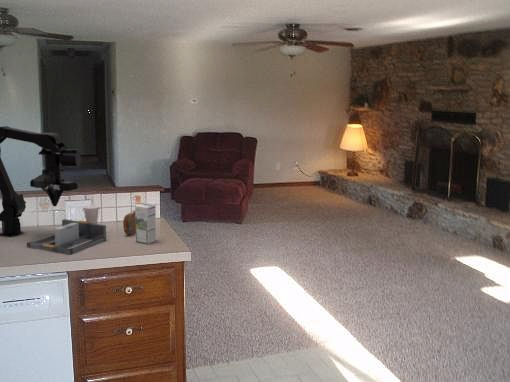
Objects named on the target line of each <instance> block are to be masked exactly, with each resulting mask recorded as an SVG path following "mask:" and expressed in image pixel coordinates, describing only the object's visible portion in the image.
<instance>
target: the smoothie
mask: <svg viewBox="0 0 510 382" xmlns="http://www.w3.org/2000/svg"><path fill="white" fill-rule="evenodd" d="M82 208H83V209H82V210H83V211H84V218H85V221H87V222H90V223H94V224H98V221H99V220H98V219H99V210H100V205H98V204H94V196H93V195H91V204H87V205H84V206H82Z"/></svg>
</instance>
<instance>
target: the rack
mask: <svg viewBox="0 0 510 382" xmlns="http://www.w3.org/2000/svg"><path fill="white" fill-rule="evenodd" d="M73 222H74V223H78V224H79V238H78V239H75V240H72V241H70V242H67V243H64V244H61V245H59V246H55V233H53V234H49V235H46V236H43V237H40V238H37V239H33V240H31V241H29V242H26V247H27V248H31V249H36V250H40V251H42V250H43V251H48V252H53V253H58V254H64V255H69V256H71V255H73V254H76V253H78V252H81V251H84V250H85V249H88V248H91V247H93V246H97V245H98V244H101V243H103V242H106V241H107V225H106V224H99V223H97V224H94V223H90V222H87V221H86V220H82V219H81V220H73V219H66V218H65V219H62V220H61V223H62V224H61V226H64V225H67V224H70V223H73ZM81 243H82V244H81Z"/></svg>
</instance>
